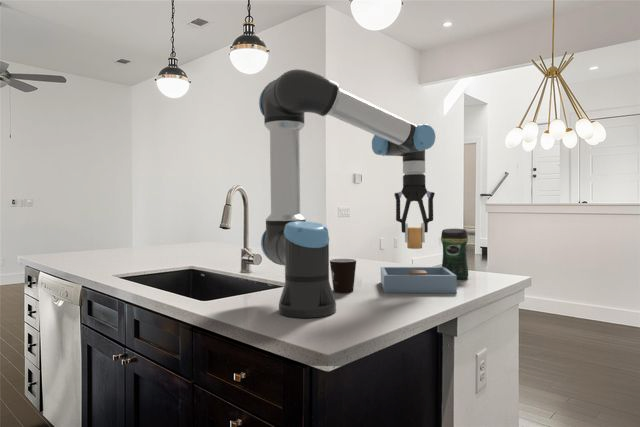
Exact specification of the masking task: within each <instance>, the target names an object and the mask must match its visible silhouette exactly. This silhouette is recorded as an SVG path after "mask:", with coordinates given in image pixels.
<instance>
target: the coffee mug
mask: <svg viewBox="0 0 640 427" xmlns="http://www.w3.org/2000/svg"><path fill="white" fill-rule="evenodd" d="M329 267H330V274H331V281H332V282H331V284H332V292H333V293H337V294H349V293H350V294H351V293H353V292H354V287H355V286H354V285H355V277H356V267H357V259H355V258H333V259H329Z"/></svg>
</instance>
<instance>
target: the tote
mask: <svg viewBox="0 0 640 427" xmlns="http://www.w3.org/2000/svg"><path fill="white" fill-rule="evenodd" d="M409 270H425V271H426V272H427V275H409ZM457 280H458V279H457V276H456V275H455V274H454V273H452V272H451V271H449V270H448V269H446V268H445V267H442V266H380V285H381V284H382V285H381V286H382V290H383V293H384V294H457V290H458V287H457V286H458V283H457V282H458V281H457Z"/></svg>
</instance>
